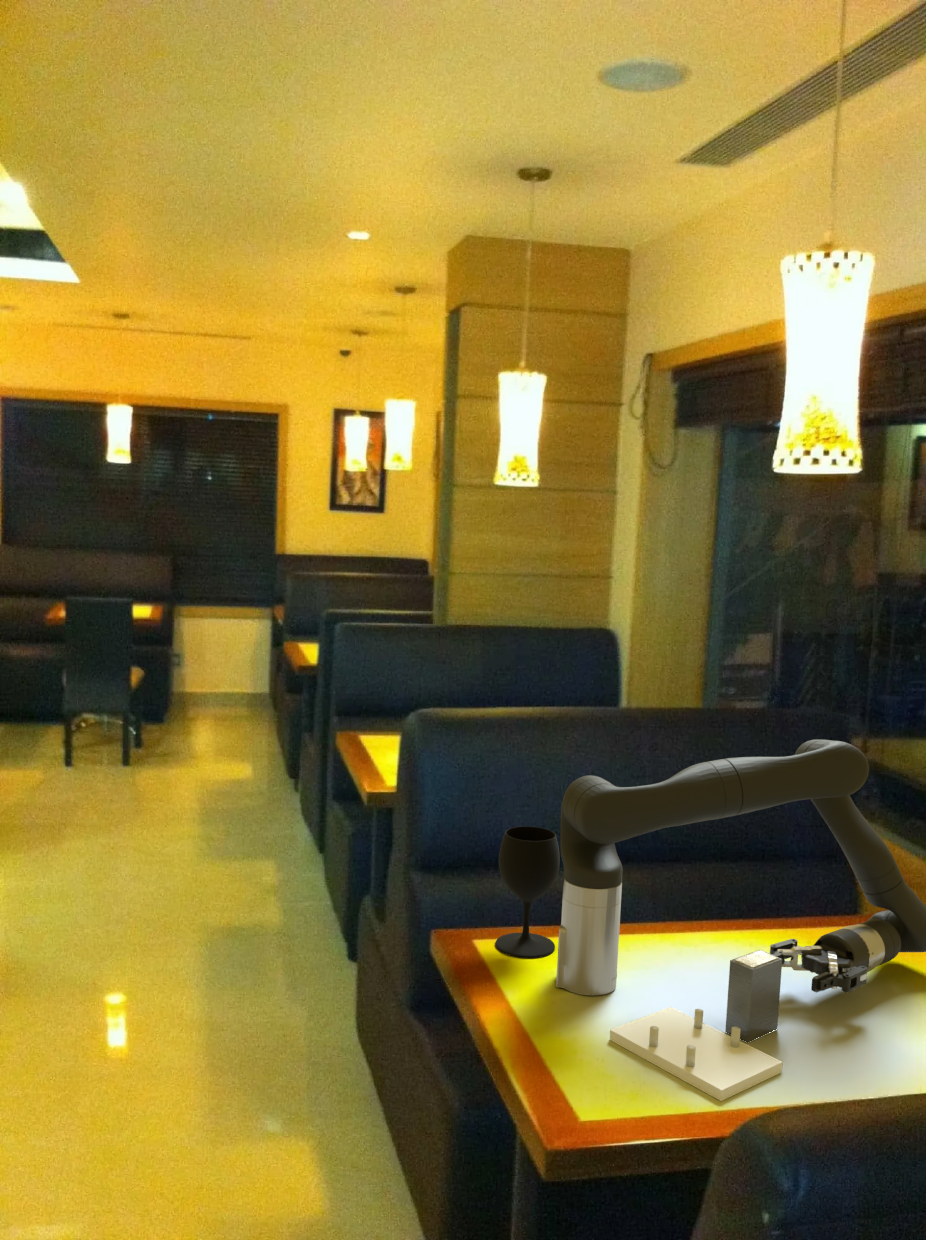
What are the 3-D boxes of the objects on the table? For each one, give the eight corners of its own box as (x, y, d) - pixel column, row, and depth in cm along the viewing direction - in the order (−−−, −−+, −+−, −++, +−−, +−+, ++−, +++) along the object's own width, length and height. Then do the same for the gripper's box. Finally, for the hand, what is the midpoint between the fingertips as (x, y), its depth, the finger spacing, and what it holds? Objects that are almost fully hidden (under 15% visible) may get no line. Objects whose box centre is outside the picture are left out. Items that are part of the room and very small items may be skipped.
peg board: (609, 1039, 161) (610, 1013, 160) (669, 1016, 169) (671, 991, 168) (721, 1101, 145) (723, 1072, 145) (781, 1072, 153) (783, 1044, 153)
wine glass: (511, 962, 187) (516, 845, 184) (485, 938, 196) (490, 827, 194) (566, 954, 191) (572, 839, 189) (538, 931, 200) (543, 822, 198)
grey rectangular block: (725, 1032, 165) (730, 959, 163) (754, 1020, 169) (759, 948, 168) (747, 1043, 161) (752, 969, 160) (777, 1030, 166) (782, 958, 165)
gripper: (813, 915, 185) (752, 936, 175) (892, 944, 174) (832, 968, 164) (809, 959, 186) (749, 982, 176) (888, 990, 175) (828, 1017, 165)
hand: (789, 975), depth 170 cm, fingers open, 8 cm apart
